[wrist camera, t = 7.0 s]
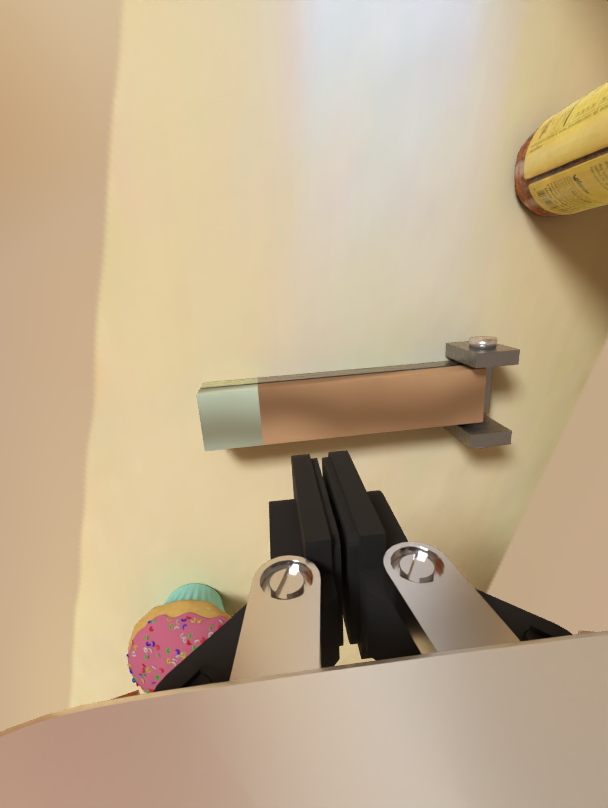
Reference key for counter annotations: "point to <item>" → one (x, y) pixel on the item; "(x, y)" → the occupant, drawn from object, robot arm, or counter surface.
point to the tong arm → (340, 406)
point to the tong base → (464, 353)
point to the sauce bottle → (567, 159)
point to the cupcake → (173, 633)
